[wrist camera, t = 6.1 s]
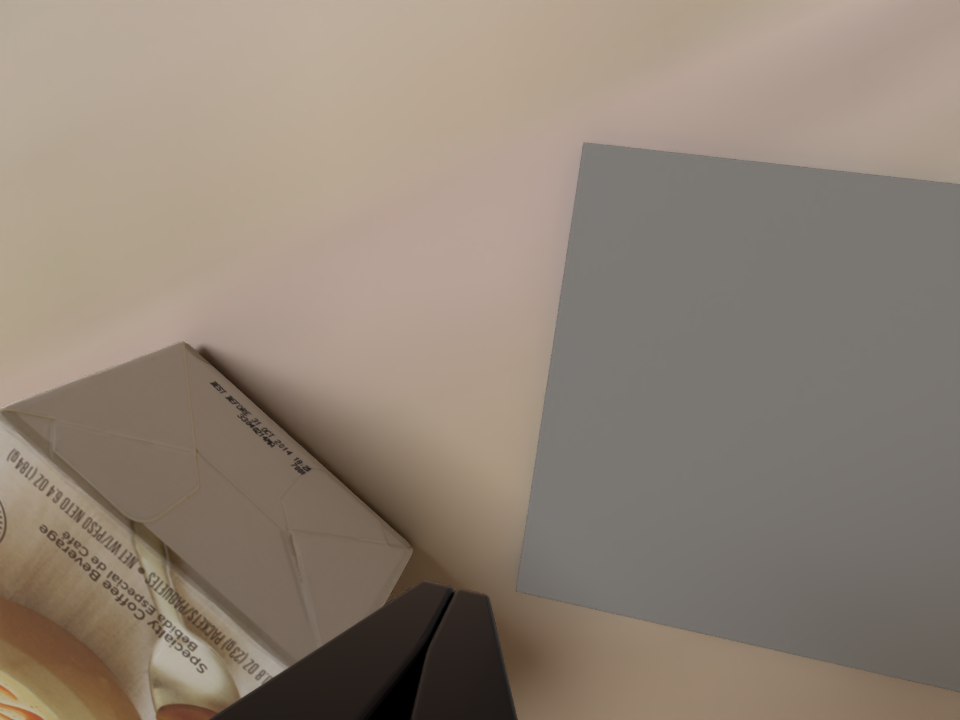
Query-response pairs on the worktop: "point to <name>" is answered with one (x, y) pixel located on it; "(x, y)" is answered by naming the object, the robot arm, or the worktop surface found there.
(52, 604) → the coffee box
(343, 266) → the worktop surface
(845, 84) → the worktop surface
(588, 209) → the mat
